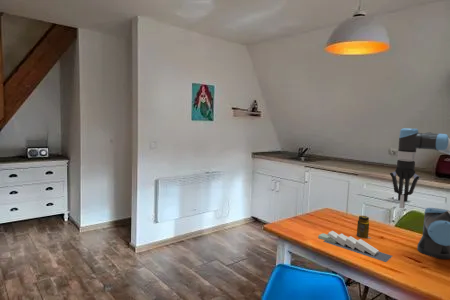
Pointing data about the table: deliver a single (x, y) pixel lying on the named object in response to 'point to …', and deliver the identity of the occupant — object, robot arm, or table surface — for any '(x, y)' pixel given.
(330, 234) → the domino
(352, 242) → the domino
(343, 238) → the domino
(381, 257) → the mat
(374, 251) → the domino
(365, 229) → the condiment
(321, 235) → the domino
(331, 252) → the table surface
